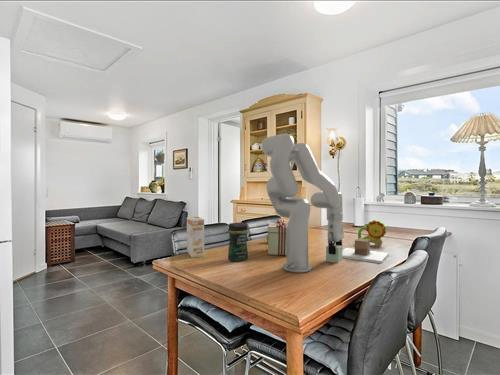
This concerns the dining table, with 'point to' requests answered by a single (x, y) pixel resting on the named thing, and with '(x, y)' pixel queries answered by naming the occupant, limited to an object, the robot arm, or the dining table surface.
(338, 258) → the sage block
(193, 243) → the coffeecake box
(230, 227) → the coffee jar
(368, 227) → the toy lion
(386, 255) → the board
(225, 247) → the dining table surface
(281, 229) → the gift box
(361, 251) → the walnut block
